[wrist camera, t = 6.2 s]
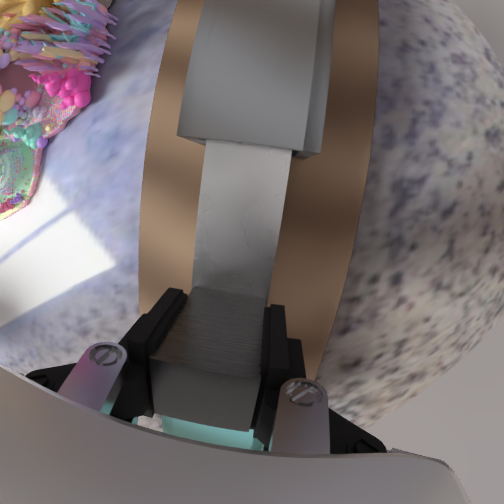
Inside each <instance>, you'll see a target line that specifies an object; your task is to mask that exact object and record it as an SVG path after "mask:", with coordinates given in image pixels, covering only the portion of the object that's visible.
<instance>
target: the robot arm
mask: <svg viewBox="0 0 504 504" xmlns="http://www.w3.org/2000/svg"><path fill="white" fill-rule="evenodd" d="M187 297H188V295H187V294H185V293H184V292H183V290H182V289H177V288H171V287H169V288H168V289H167V290H166V291H165V293H164V294H163V295H162V296H161V298H160V299H159V300H158V301H157V302H156V304H155V305H154V306H153V307H152V308H151V310H150V311H149V312H148V313H147V314H146V313H144V314H142V315H141V317H140V318H139V319H138V320H137V321H136V323H135V324H134V325H133V326H132V327H131V329H130V330H129V331H128V332H127V333H126V335H125V336H124V337H123V338H122V340H121V341H120V342H119V343H118V344H116V343H113V342H100V343H96V344H94V345H92V346H90V347H89V348H88V349H87V350H86V351H85V353H84V354H83V355H82V357H81V358H80V360H79V361H78V363H73V364H68V365H63V366H57V367H51V368H46V369H39V370H35V371H32V372H30V373H28V374H27V375H26V376H24V374H22V373H17V372H15V371H13V370H11V369H9V368H7V367H5V366H3V365H0V504H472V503H471V501H470V499H469V496H468V494H467V492H466V490H465V488H464V486H463V485H462V483H461V481H460V479H459V478H458V476H457V475H456V473H455V472H454V471H453V470H452V469H451V468H450V467H449V465H447V464H446V463H445V462H444V461H442V460H439V459H435V458H430V457H426V456H422V455H418V454H414V453H410V452H406V451H402V450H398V449H395V448H392V449H391V451H389V450H386V447H385V446H384V444H383V443H382V442H381V441H380V440H379V439H377V438H376V437H374V436H373V435H371V434H369V433H368V432H366V431H364V430H363V429H361V428H359V427H358V426H356V425H354V424H353V423H351V422H350V421H348V420H347V419H345V418H343V417H342V416H340V415H339V414H337V413H336V412H334V411H333V410H331V409H330V408H328V395H327V392H326V390H325V389H324V388H323V386H321V385H320V384H319V383H317V382H315V381H313V380H310V379H307V378H306V371H305V364H304V357H303V350H302V343H301V340H300V339H294V338H287V329H286V316H285V306H284V305H277V304H270V307H266V306H265V308H264V321H263V337H262V352H261V367H260V374H261V382H260V386H259V391H258V395H257V400H256V404H255V408H254V413H253V417H252V421H251V425H250V429H253V430H254V431H253V438H257V439H258V440H259V441H260V442H261V443H262V444H263V448H262V451H260V450H251V449H243V448H236V447H229V446H223V445H217V444H211V443H206V442H201V441H196V440H191V439H187V438H183V437H178V436H174V435H170V434H166V433H163V432H159V431H155V430H152V429H149V428H145V427H142V426H139V425H137V422H138V416H142V415H144V416H147V417H151V418H152V417H153V415H154V413H155V410H154V402H153V394H152V385H151V375H150V364H149V357H150V355H151V354H152V353H153V352H154V350H155V349H156V347H157V345H158V344H159V342H160V341H161V339H162V337H163V336H164V334H165V332H166V331H167V329H168V328H169V326H170V324H171V323H172V321H173V320H174V318H175V316H176V315H177V313H178V312H179V310H180V308H181V307H182V305H183V304H184V302H185V301H186V299H187Z"/></svg>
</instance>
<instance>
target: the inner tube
mask: <svg viewBox="0 0 504 504" xmlns="http://www.w3.org/2000/svg"><path fill="white" fill-rule="evenodd" d="M291 155H292V150H290V149H284V148H278V147H271V146H264V145H256V144H248V143H240V142H231V141H221V140H210V139H207V140H206V147H205V155H204V162H203V170H202V178H201V187H200V196H199V205H198V215H197V225H196V236H195V247H194V260H193V274H192V289H191V292H190V293H189V295H188V297H187V299H186V301H185V302H184V304H183V305H182V307H181V308H180V310H179V312H178V313H177V315H176V316H175V318H174V320H173V321H172V323H171V324H170V326H169V328H168V329H167V331H166V332H165V334H164V336H163V337H162V339H161V341H160V342H159V344H158V345H157V347H156V349H155V350H154V352H153V353H152V354H151V355H150V357H149V364H150V375H151V385H152V394H153V402H154V410H155V413H156V414H160V415H163V416H167V417H171V418H175V419H179V420H183V421H188V422H192V423H197V424H202V425H207V426H212V427H218V428H223V429H229V430H236V431H243V432H249V429H250V425H251V421H252V417H253V413H254V408H255V404H256V400H257V395H258V391H259V386H260V382H261V374H260V367H261V352H262V337H263V321H264V308H265V306H266V307H267V302H268V297H269V291H270V285H271V280H272V274H273V268H274V262H275V256H276V250H277V244H278V238H279V232H280V226H281V220H282V214H283V207H284V201H285V195H286V188H287V182H288V175H289V168H290V162H291Z"/></svg>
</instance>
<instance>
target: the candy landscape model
mask: <svg viewBox="0 0 504 504" xmlns="http://www.w3.org/2000/svg"><path fill="white" fill-rule="evenodd" d="M111 2H112V0H0V221H1V220H3V219H5V218H7V217H9V216H10V215H12V214H14V213H15V212H17V211H19V210H20V209H22V208H24V207H25V206H27V205H28V203H29V199H30V198H31V196H32V195H33V194H34V192H35V188H36V185H37V182H38V178H39V175H40V171H39V166H40V163H41V159H42V151H43V148H44V147H45V146H46V145H47V143H48V139H49V138H51V137H52V136H54V135H56V134H57V133H59V132H60V131H62V130H63V129H64V128H65V126H66V124H67V122H68V121H69V120H70V119H72V118H73V117H75V116H76V115H78V114H79V112H80V110H81V108H82V107H85V106H86V105H88V104H89V102H90V100H91V93H90V86H91V77H90V76H91V75H93V76H96V77H98V78H101V76H100V75H98V74H94V73H93V71H95V72H98V70H99V69H97V68H95V66H96V65H97V64H98V62H100V63H102V64H103V63H104V62H105V61H104V59H102V58H99V55H103V54H104V53H106V54H108V55H111V54H112V53H111V52H110V51H107V50H105V49H103V48H99V46H100V45H102V46H105V47H107V48H108V49H110V48H111V46H110V45H108V44H107V42H105V41H107V37H106V36H109V37H112V38H113V39H115V40H116V39H117V38H116V37H115V36H114V35H111V34H109V33H108V30H107V29H106V28H105V27H106V25H107V24H108V23H109V24H113V25H114V26H116V25H117V23H115V22H113V20H109V19H110V18H109V16H110V17H111V18H113V19H114V20H116V21H119V19H118V18H116V17H115V16H113V15H111V14H110V13H108V11H107V8H108V7H109V6H110V5H111Z"/></svg>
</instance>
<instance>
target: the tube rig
mask: <svg viewBox="0 0 504 504" xmlns="http://www.w3.org/2000/svg"><path fill="white" fill-rule="evenodd" d="M378 54H379V13H378V0H178V3H177V6H176V9H175V12H174V15H173V19H172V22H171V26H170V29H169V33H168V37H167V40H166V44H165V48H164V52H163V56H162V61H161V65H160V69H159V74H158V79H157V84H156V89H155V94H154V99H153V105H152V111H151V117H150V123H149V130H148V137H147V144H146V153H145V161H144V171H143V181H142V193H141V207H140V226H139V311H140V317H141V315H142V314H144V313H146V314H147V313H148V312H149V311H150V310H151V308H152V307H153V306H154V305H155V304H156V302H157V301H158V300H159V299H160V298H161V296H162V295H163V294H164V293H165V291H166V290H167V289H168V288H169V287H171V288H177V289H182V290H183V292H184V293H185V294H187V295H189V293H190V292H191V289H192V274H193V260H194V247H195V236H196V225H197V215H198V205H199V196H200V187H201V178H202V170H203V162H204V155H205V147H206V140H207V139H210V140H221V141H231V142H240V143H248V144H256V145H264V146H271V147H278V148H284V149H290V150H292V155H291V162H290V168H289V175H288V182H287V188H286V195H285V201H284V207H283V214H282V220H281V226H280V232H279V238H278V244H277V250H276V256H275V262H274V268H273V274H272V280H271V285H270V291H269V297H268V302H267V307H270V304H277V305H284V306H285V316H286V329H287V338H294V339H300V340H301V343H302V350H303V357H304V364H305V371H306V378H307V379H310V380H313V381H314V380H315V378H316V375H317V372H318V369H319V366H320V363H321V360H322V357H323V354H324V351H325V348H326V345H327V342H328V339H329V336H330V333H331V329H332V326H333V323H334V319H335V316H336V312H337V309H338V305H339V302H340V298H341V295H342V291H343V287H344V283H345V279H346V275H347V271H348V267H349V263H350V259H351V255H352V251H353V246H354V242H355V237H356V232H357V228H358V223H359V218H360V213H361V207H362V202H363V196H364V191H365V185H366V179H367V172H368V166H369V159H370V152H371V144H372V136H373V127H374V117H375V106H376V94H377V78H378ZM161 416H162V425H163V432H164V433H166V434H170V435H174V436H178V437H183V438H187V439H191V440H196V441H201V442H206V443H211V444H217V445H223V446H229V447H236V448H243V449H251V450H260V451H261V450H262V447H263V444H262V443H261V442H260V441H259V440H258V439H257V438H253V431H254V430H253V429H249V432H243V431H236V430H229V429H223V428H218V427H212V426H207V425H202V424H197V423H192V422H188V421H183V420H179V419H175V418H171V417H167V416H163V415H161Z"/></svg>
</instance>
